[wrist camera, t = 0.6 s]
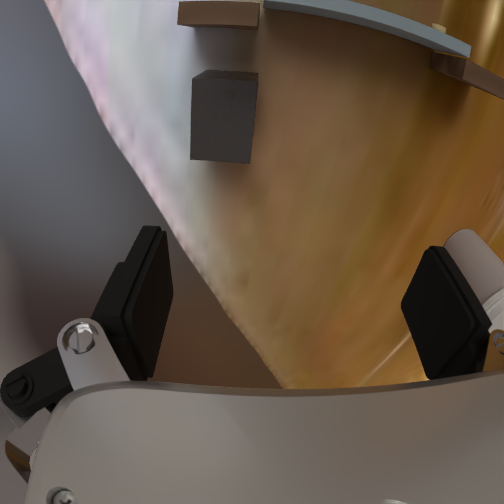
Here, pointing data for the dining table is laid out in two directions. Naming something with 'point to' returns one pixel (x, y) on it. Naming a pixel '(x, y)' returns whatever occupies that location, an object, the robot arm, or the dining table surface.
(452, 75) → the pair of brown blocks
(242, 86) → the dark grey block
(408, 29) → the grey curved plank
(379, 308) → the dining table surface
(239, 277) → the dining table surface
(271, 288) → the dining table surface
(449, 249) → the coffee cup
